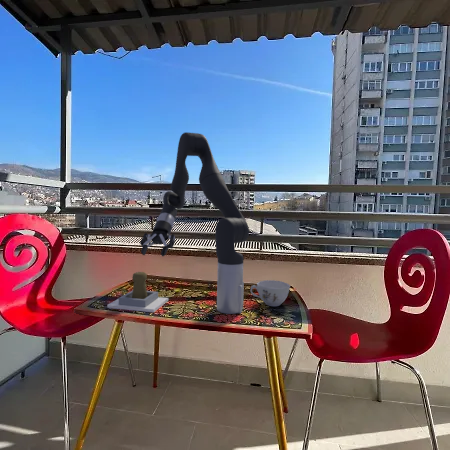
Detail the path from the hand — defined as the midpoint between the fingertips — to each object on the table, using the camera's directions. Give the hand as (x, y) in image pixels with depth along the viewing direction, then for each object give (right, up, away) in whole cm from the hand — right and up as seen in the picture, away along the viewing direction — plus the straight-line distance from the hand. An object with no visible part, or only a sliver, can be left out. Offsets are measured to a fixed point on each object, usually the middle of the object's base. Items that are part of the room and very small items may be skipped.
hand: (152, 254), depth 114 cm
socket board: (-3, -17, -10) cm, 20 cm away
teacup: (+47, -18, -6) cm, 51 cm away
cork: (-2, -17, -10) cm, 19 cm away
